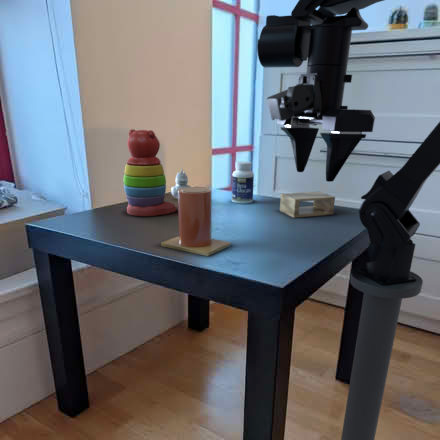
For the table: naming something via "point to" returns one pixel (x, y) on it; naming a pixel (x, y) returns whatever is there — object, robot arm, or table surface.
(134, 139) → the stacking bear
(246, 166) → the pill bottle
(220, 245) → the cork mat
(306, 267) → the table surface
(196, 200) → the cylinder
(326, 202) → the box
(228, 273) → the table surface
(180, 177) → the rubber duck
